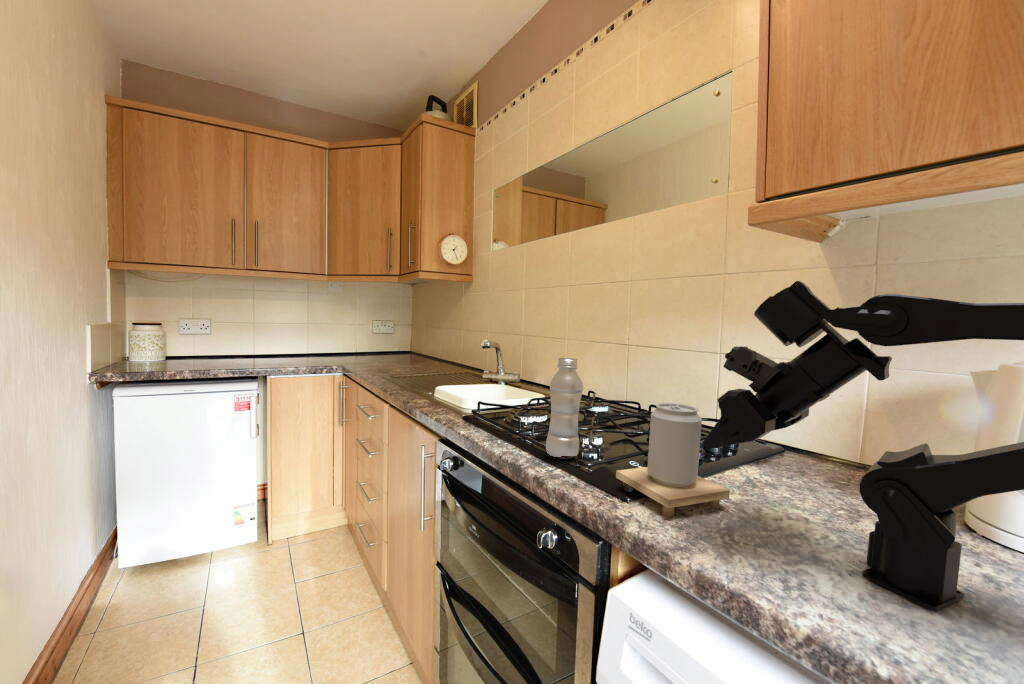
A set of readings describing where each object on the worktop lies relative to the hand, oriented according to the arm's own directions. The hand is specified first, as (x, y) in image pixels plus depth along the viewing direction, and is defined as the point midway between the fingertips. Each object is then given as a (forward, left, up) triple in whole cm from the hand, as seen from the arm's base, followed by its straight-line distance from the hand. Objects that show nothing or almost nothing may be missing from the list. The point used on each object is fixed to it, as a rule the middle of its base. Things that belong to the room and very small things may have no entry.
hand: (719, 440), depth 63 cm
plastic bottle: (+29, +9, -11) cm, 32 cm away
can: (+6, +2, -8) cm, 11 cm away
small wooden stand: (+7, +2, -11) cm, 13 cm away
